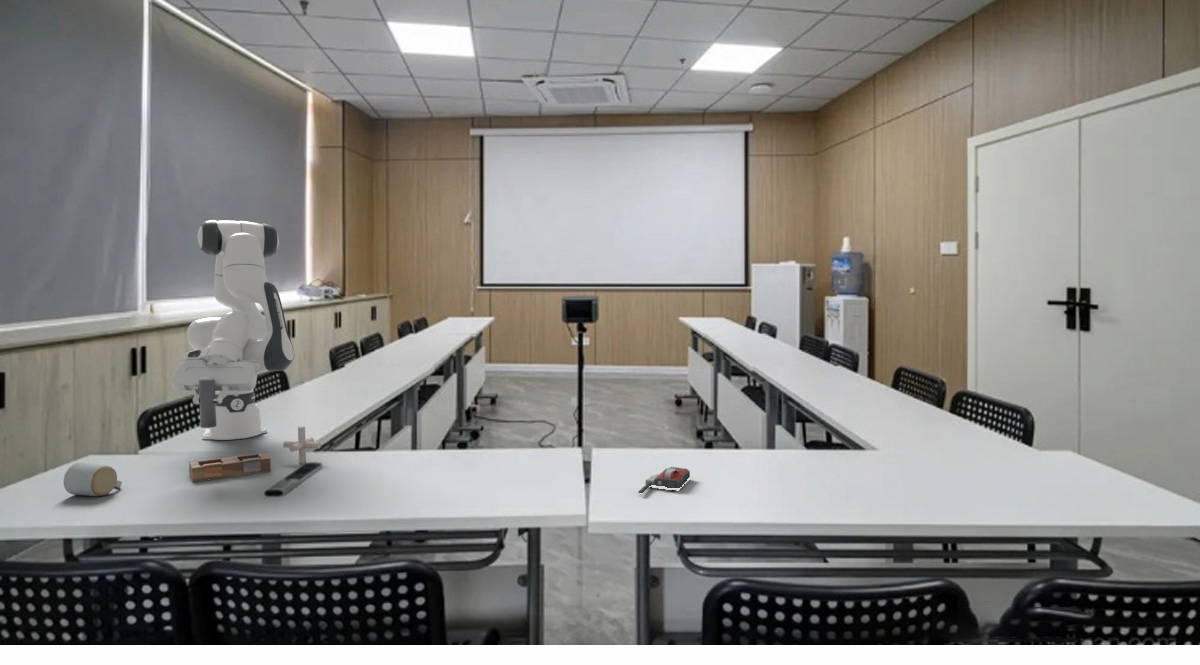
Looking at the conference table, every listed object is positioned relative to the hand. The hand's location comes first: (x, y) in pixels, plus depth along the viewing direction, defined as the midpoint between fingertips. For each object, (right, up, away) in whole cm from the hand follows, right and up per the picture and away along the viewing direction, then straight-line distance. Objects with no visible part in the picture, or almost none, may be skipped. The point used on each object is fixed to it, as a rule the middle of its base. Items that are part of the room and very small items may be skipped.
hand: (206, 402), depth 180 cm
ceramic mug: (-19, -20, -13) cm, 31 cm away
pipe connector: (+18, -19, +16) cm, 30 cm away
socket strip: (+4, -19, +5) cm, 20 cm away
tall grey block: (0, -6, +1) cm, 6 cm away
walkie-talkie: (+117, -21, -7) cm, 119 cm away
